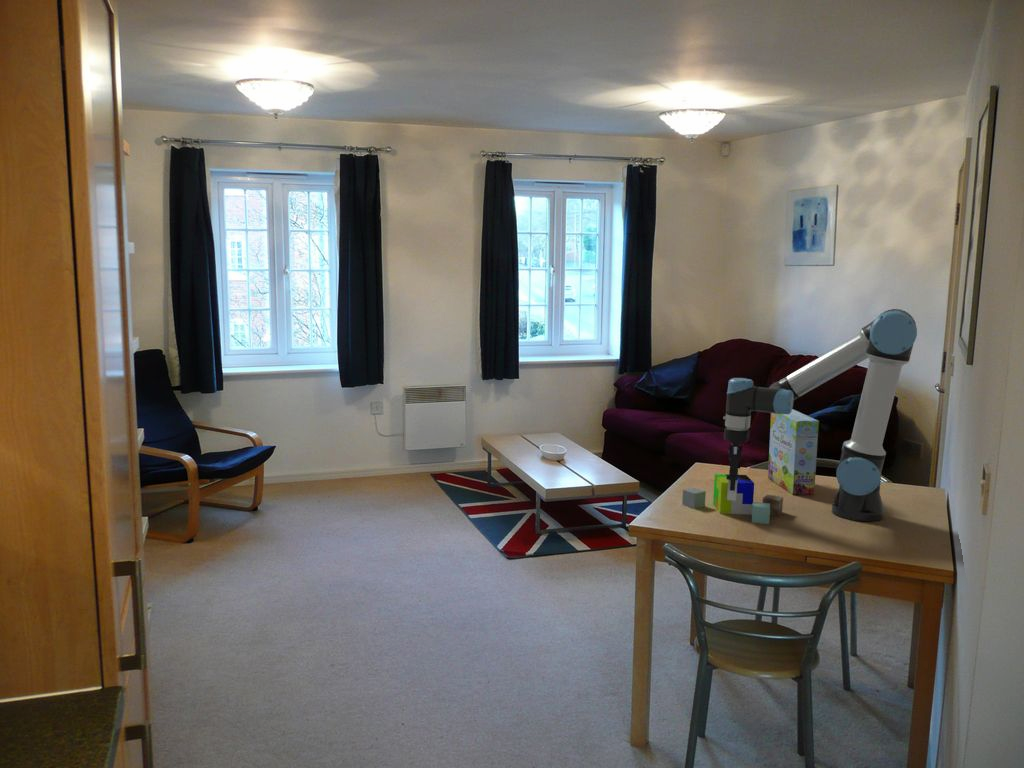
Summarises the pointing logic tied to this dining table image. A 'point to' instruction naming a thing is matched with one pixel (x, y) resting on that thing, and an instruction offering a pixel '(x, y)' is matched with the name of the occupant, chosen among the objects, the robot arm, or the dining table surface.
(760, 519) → the dusty teal cube
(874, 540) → the dining table surface
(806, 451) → the snack box
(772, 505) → the walnut cube
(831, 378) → the robot arm
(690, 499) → the slate grey cube
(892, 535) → the dining table surface
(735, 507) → the puzzle toy
